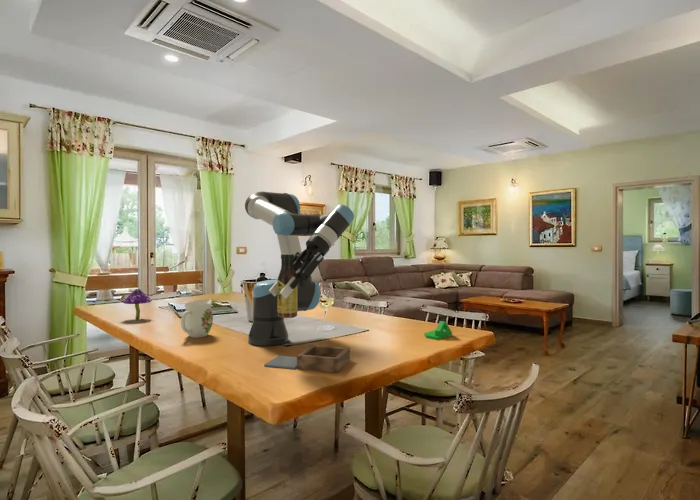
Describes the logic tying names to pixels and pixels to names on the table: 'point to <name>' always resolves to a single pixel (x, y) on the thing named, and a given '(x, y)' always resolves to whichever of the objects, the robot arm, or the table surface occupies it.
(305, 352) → the walnut collar
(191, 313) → the pitcher
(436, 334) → the bracket
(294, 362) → the slate coaster
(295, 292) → the sauce bottle
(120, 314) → the table surface
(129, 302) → the decorative mushroom
